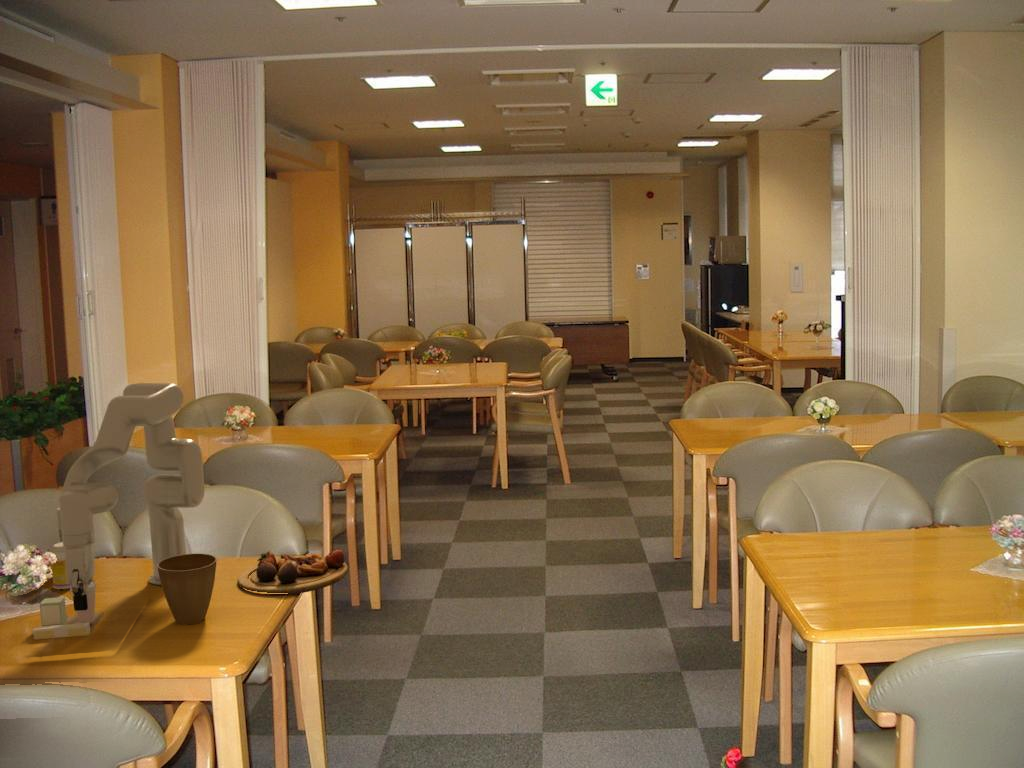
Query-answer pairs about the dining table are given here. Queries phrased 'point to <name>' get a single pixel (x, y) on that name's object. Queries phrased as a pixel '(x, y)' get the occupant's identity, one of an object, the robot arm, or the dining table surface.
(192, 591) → the plant pot
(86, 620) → the smoothie
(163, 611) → the dining table surface
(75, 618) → the shelf board
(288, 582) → the wooden plate with food
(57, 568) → the supplement bottle
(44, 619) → the tea box
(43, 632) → the rail
